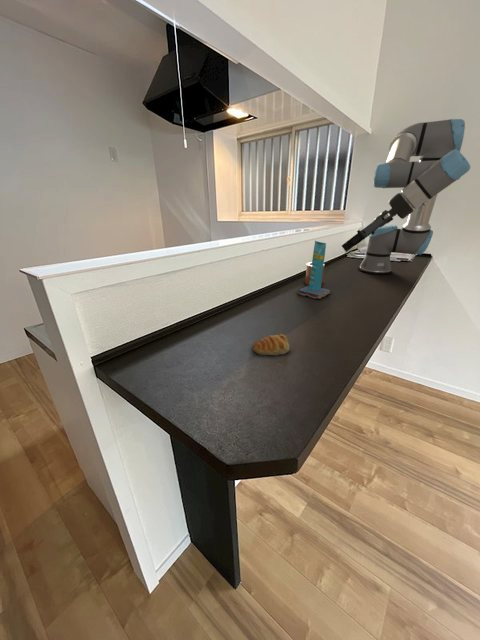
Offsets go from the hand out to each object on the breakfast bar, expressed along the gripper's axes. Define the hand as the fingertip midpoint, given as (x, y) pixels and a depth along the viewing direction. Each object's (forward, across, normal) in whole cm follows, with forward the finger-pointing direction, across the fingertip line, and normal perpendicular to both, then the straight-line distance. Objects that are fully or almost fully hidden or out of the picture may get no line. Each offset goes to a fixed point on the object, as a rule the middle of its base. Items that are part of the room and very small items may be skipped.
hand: (348, 245), depth 96 cm
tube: (+21, 0, -6) cm, 22 cm away
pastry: (+18, -49, -11) cm, 54 cm away
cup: (+26, +14, -4) cm, 29 cm away
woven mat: (+22, 0, -7) cm, 23 cm away
